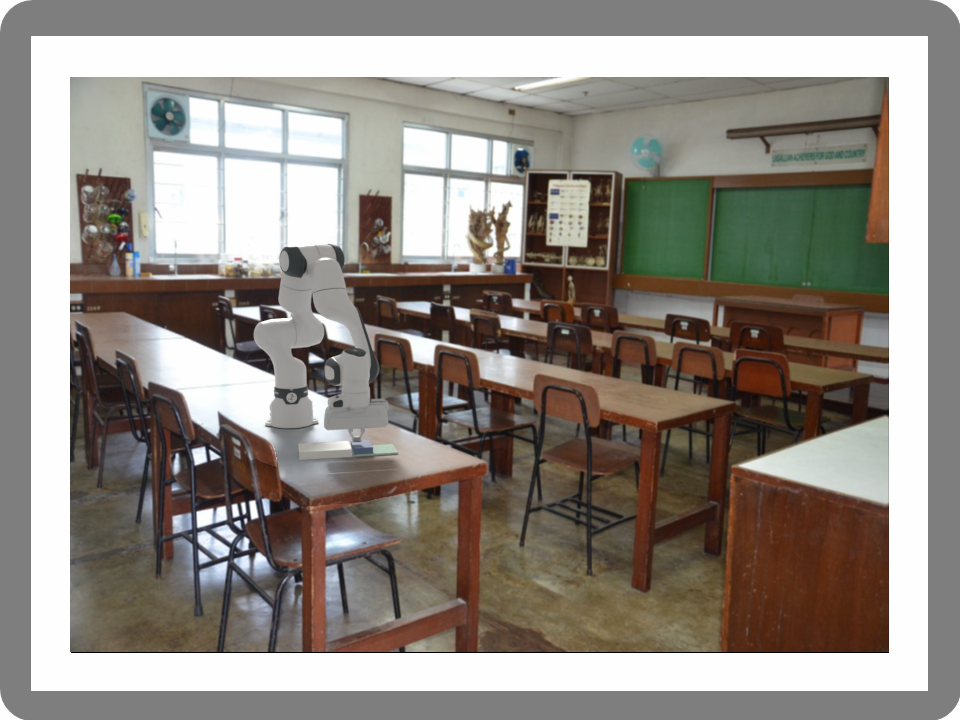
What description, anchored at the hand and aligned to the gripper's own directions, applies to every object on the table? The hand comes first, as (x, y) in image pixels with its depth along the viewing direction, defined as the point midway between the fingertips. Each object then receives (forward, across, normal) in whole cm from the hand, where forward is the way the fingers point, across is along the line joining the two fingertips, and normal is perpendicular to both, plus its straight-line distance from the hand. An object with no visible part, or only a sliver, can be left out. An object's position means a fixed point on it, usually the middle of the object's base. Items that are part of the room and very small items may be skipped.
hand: (356, 441), depth 252 cm
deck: (+3, +10, 0) cm, 11 cm away
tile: (+3, -2, 0) cm, 3 cm away
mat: (+3, -6, 0) cm, 6 cm away
